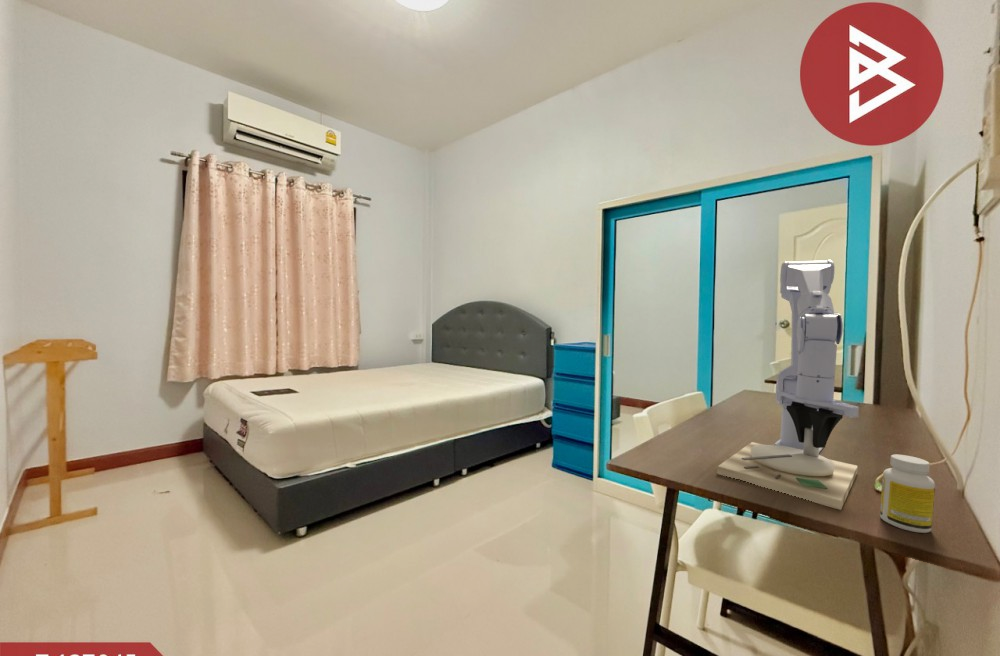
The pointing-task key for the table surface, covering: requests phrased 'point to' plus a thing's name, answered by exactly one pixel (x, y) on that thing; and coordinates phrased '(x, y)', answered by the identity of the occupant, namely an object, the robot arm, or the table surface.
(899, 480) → the supplement bottle
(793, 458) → the tuning knob
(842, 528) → the table surface
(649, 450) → the table surface
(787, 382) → the robot arm
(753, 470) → the dial board
